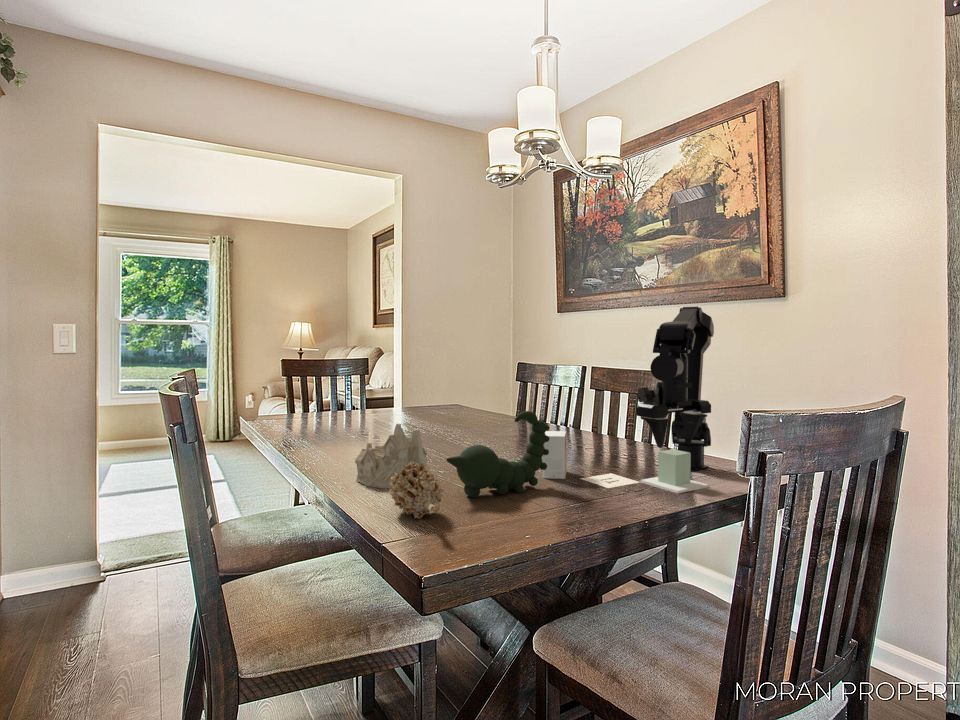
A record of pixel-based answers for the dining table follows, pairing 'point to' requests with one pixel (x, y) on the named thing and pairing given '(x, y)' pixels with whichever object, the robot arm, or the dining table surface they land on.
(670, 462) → the sage block
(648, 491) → the dining table surface
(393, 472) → the ceramic cottage
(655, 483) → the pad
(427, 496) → the pine cone
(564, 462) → the small box
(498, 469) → the toy figurine
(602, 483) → the tile
